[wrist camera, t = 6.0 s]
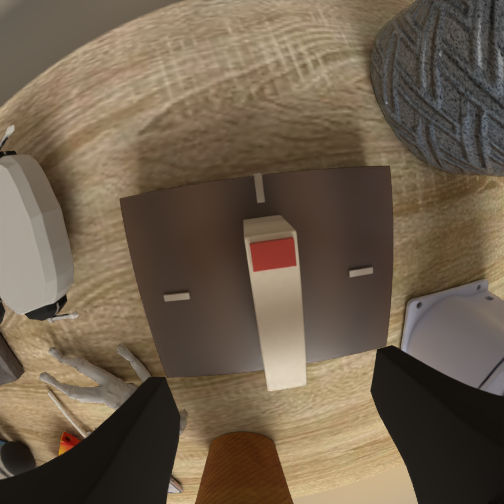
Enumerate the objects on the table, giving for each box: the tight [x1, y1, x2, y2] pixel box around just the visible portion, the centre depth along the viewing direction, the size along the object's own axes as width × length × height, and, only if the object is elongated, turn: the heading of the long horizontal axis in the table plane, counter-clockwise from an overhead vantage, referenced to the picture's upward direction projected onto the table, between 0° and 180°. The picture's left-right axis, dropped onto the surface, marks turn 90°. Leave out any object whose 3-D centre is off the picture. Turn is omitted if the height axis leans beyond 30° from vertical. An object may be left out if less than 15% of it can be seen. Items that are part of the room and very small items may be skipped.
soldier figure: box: [39, 344, 187, 435], centre depth 18 cm, size 8×5×12 cm
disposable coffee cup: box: [195, 432, 293, 504], centre depth 16 cm, size 10×10×12 cm
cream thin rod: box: [47, 390, 88, 438], centre depth 21 cm, size 10×2×2 cm
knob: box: [243, 215, 307, 391], centre depth 12 cm, size 7×2×4 cm, turn 8°
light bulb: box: [0, 441, 38, 476], centre depth 22 cm, size 6×6×10 cm
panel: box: [120, 166, 393, 378], centre depth 16 cm, size 14×11×3 cm
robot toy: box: [0, 125, 79, 324], centre depth 14 cm, size 12×4×15 cm
